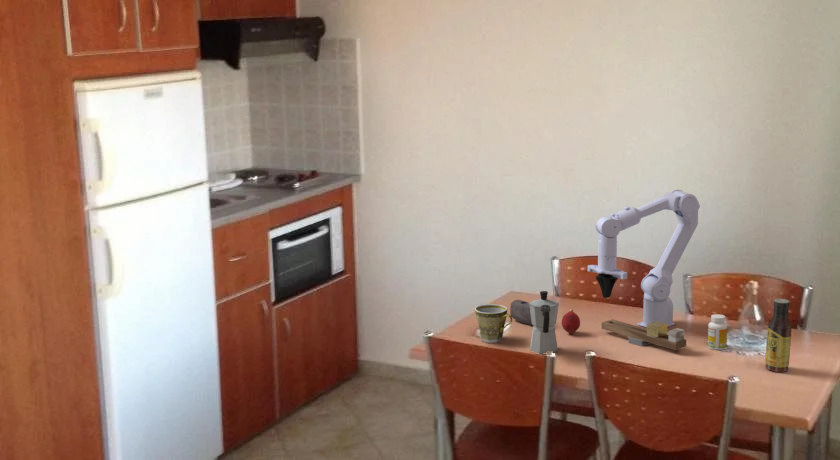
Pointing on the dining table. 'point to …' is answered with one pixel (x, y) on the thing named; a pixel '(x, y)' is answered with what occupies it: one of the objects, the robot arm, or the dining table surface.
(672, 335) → the beam
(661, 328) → the block
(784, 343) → the sauce bottle
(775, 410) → the dining table surface
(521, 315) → the perforated stone tool
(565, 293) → the dining table surface
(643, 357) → the dining table surface
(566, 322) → the onion
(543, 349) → the coffee maker
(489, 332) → the ceramic cup
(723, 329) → the supplement bottle
